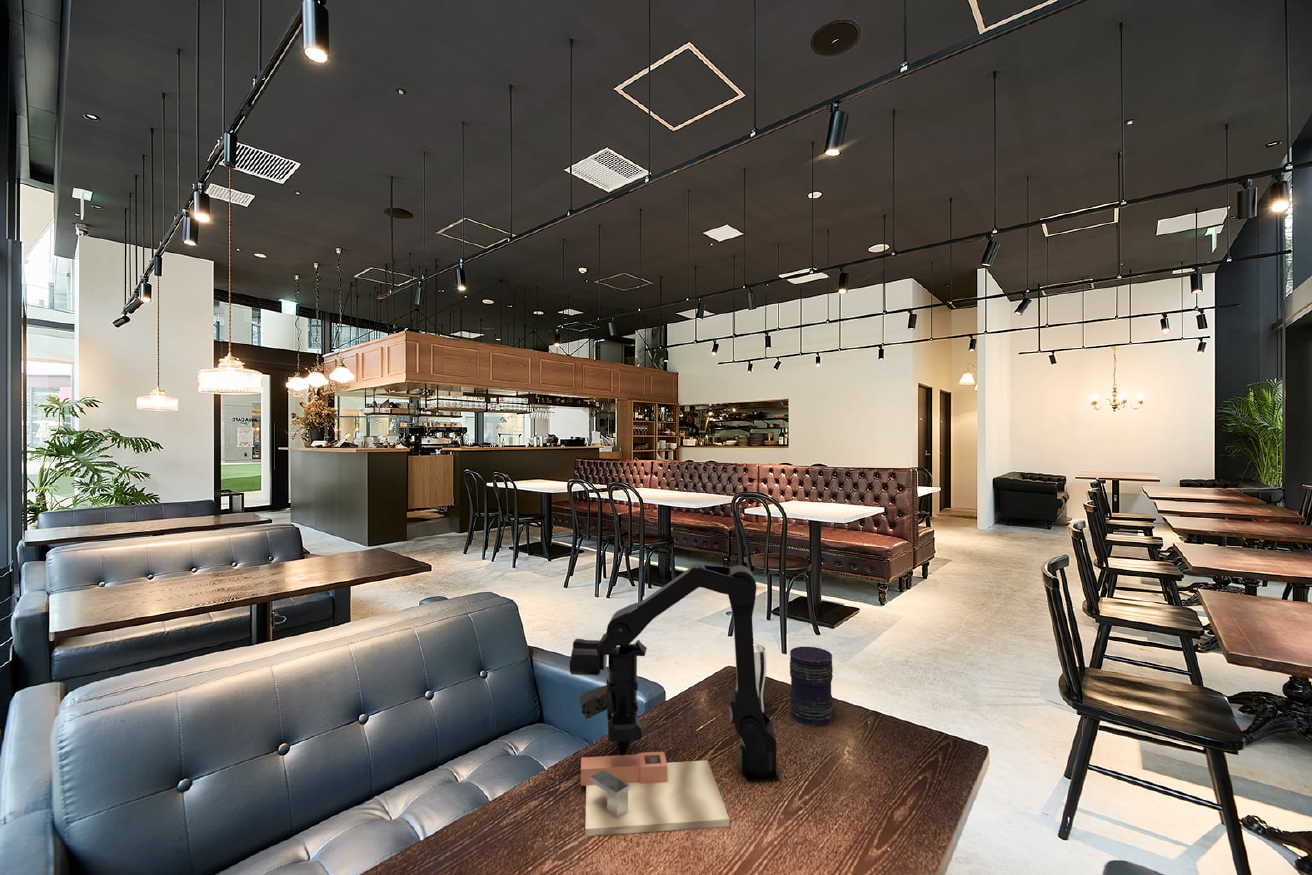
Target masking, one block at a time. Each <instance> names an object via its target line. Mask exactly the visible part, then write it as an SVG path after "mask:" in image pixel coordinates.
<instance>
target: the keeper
mask: <svg viewBox="0 0 1312 875" xmlns="http://www.w3.org/2000/svg"><path fill="white" fill-rule="evenodd" d="M590 781H591V782H592V783H594V784H595V785H597V786H599V787H600V788H602V789H603V790H605V791H606V792H607V812H608V813H609V814H611V815H612V816H614V817H615V818H619V817H621V816H622V815H624V814H625V813H627V812H628V791H629V785H628V784H626V783H625V782H623V781H621V780H620V779H618V778H616V777H615V776H613V775H611V774H610V773H608V772H606V771H605V770H602V771H600V772H598V773H596V774H594V775H592V776H590Z"/></svg>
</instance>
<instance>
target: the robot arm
mask: <svg viewBox="0 0 1312 875" xmlns="http://www.w3.org/2000/svg"><path fill="white" fill-rule="evenodd" d="M699 588H703V589H707V590H709V591H713V592H716V593H719V594H723V595H727V596H728V599H729V600H728V601H729V604H730V608H731V612H732V621H733V634H734V635H733V637H734V655H735V670H736V685H735V690H733V689H729V690H728V696H729V704H730V705H729V716H730V725H734V729H735V732H736V734H737V735H739V736H740V737H741V738H740V741H741V742H740V745H739V746H738V761H737V762H738V763H737V764H738V768H739V770H740V772H741V774H743V777H744V779H745V780H746V782H747V783H748V782H749V783H750V782H765V781H767V782H768V781H779V780H780V775H779V773H778V771H777V740H776V734H775V731H774V727H773V724H772V720H771V719H770V717H768V716H767V715H766V714H765V712H764V713H763V712H762V710H761V705H760V701H759V697H758V693H757V689H756V676H755V659H754V644H755V643H754V628H753V627H754V626H753V613H754V609H755V608H754V607H755V604H756V595H757V583H756V580H755V577H754V575H753V572H752V571H751V569H750V568H748V567H747V566H745V565H741V564H740V565H738V564H737V565H733V566H732V567H730V566H729V567H728V566H724V565H708V564H703V563H700V562H696V563H693V564H691V565H690V566H689V568H688V569H686V570H685V571H684V572H682V573H681V574H679V575H677V576H676V577H675V578H674V579H672V580H671V581H669V582H668V583H666V584H665V585H663V586H662V587H660V588H659V589H657V591H655V592H653V593H652V594H651V595H649V596H647V597H646V598H645V599H643V600H641V601H637V602H634V603H633V604H630V605H627V606H625V607H623V608H621V609H619V610H617V611H616V612H614V614H613V615H612V616H611V618H610V621H609V623H608V624H607V627H606V632H605V633H603V634H602V637H601V638H600V640H599V639H597V640H596V639H595V640H592V639H584V638H575V639H574V640H573V642H572V650H571V655H570V660H569V673H570V675H571V676H595V677H599V676H601V672H602V671H606V667H607V660H608V668H607V669H608V677H607V678H606V684H605V685H603V686H598V687H596V688H593V689H591V690H587V691H586V692H583V693H582V694H580V696H579V706H580V709H581V714H582V715H583V717H584V719H586V720H588V719H590V718H592V717H594V716H596V715H599V714H601V713H602V712H604V711H606V714H607V716H606V717H607V720H608V721H607V741H608V742H610V743H617V748H618V753H619V755H627V752H628V749H629V747H630V745H631V743H632V742H634V741H636V742H637V741H640V740H642V724H641V720H640V719H639V718H638V714H637V713H638V711H639V709H638V708H639V706H638V705H639V704H638V691H639V685H638V657H644V656H646V653H647V649H648V648H647V647H646V646H645V645H644V644H643V643H642V642H641V641H640V640H639V639H637V637H638V636H639V635H640V634H641V633H642V632H643V631H644V630H645V629H646V628H647V626H648V625H649V624H650V623H652V621H653V620H654V619H655V618H657V617H658V616H660V615H661V614H662V613H664V612H665V611H667V610H668V609H670V608H671V607H672V606H674V605H676V604H678V602H680V601H681V600H682V599H684V598H686V597H687V596H688V595H690V594H691V593H692V592H694V591H695V590H697V589H699ZM635 639H637V640H636V642H635V643H632V642H633V641H634V640H635Z"/></svg>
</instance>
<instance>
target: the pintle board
mask: <svg viewBox="0 0 1312 875" xmlns="http://www.w3.org/2000/svg"><path fill="white" fill-rule="evenodd" d="M648 764H657V757H655V756H650V757H649V762H648ZM626 784H628V785H629V791H628V812H627V813H625V814H624V815H622V816H621V817H619V818H615V817H614V816H612V815H611V814H609V813H608V812H607V792H606V791H605V790H603V789H602V788H600V787H599V786H597V785H585V788H586V790H585V826H584V827H585V829H584V830H585V831H584V832H585V834H584V836H585V837H596V836H597V837H598V836H610V835H612V836H613V835H624V834H626V835H627V834H637V833H641V834H642V833H654V832H656V833H657V832H668V831H683V830H695V829H696V830H697V829H712V828H723V827H725V828H726V827H730V816H729V815H728V812H727V809H726V806H725V804H724V801H723V798H722V796H721V792H720V790H719V787H718V784H717V781H716V779H715V776H714V773H713V771H712V768H711V766H710V762H709V760H708V759H707V760H694V761H693V760H690V761H675V762H667V782H662V783H645V784H640V782H635V783H626Z"/></svg>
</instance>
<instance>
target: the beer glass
mask: <svg viewBox="0 0 1312 875" xmlns="http://www.w3.org/2000/svg"><path fill="white" fill-rule="evenodd" d="M766 654H767V653H766V647H765V646H763V645H761V644H758V643H754V659H755V676H756V689H757V693H758V697H759V701H760V705H761V710H762V712H764V713H765V707H764V706H765V705H764V698H763V697H764V694H763V693H764V686H765V682H766V677H767V676H766V675H767V656H766Z"/></svg>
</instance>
